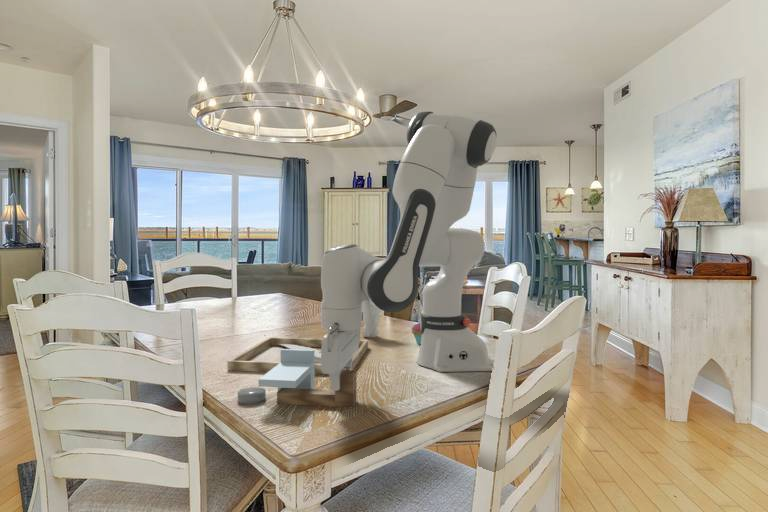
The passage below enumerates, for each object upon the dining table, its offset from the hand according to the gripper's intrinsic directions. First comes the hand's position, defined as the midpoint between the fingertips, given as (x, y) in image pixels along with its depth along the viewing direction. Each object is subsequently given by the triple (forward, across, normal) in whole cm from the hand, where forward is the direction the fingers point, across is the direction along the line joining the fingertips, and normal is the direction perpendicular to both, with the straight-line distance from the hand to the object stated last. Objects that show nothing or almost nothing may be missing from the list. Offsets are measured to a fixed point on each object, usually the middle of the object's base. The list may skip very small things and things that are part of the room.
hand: (341, 381), depth 98 cm
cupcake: (+6, +59, -14) cm, 61 cm away
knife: (+6, +36, +19) cm, 41 cm away
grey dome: (+5, -1, +20) cm, 21 cm away
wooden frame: (+5, +34, +20) cm, 40 cm away
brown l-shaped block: (+5, -1, +5) cm, 7 cm away
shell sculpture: (+6, +66, +6) cm, 67 cm away
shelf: (+5, 0, +12) cm, 13 cm away
